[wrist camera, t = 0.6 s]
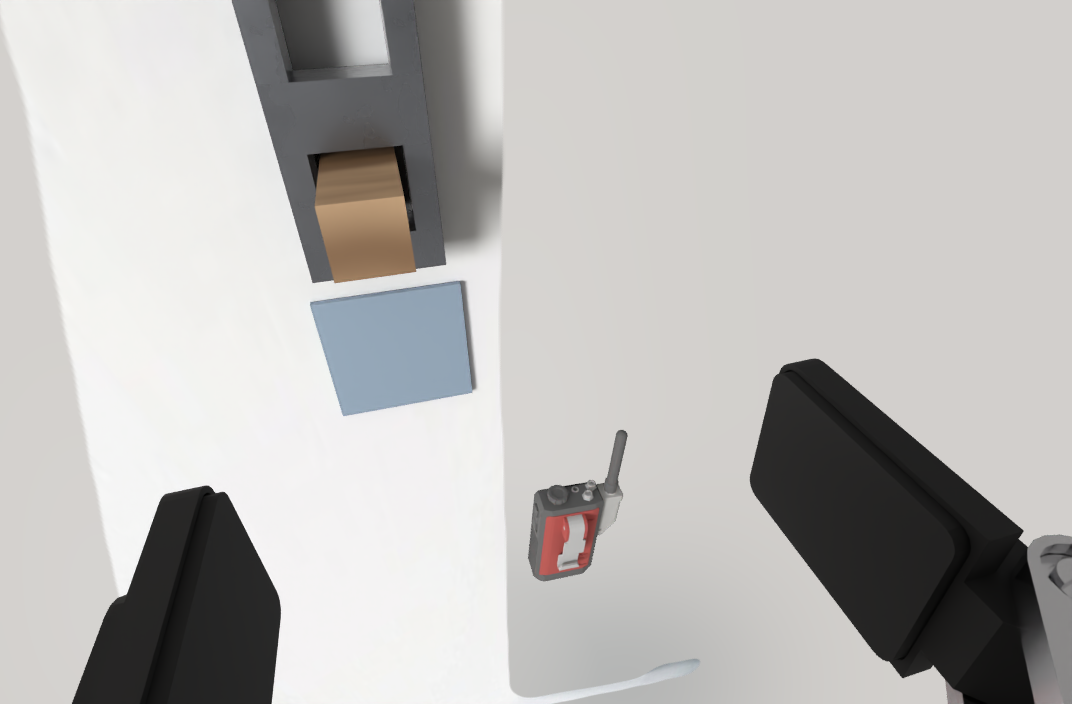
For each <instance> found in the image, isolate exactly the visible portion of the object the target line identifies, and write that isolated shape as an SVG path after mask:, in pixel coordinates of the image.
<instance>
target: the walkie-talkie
mask: <svg viewBox="0 0 1072 704" xmlns="http://www.w3.org/2000/svg"><path fill="white" fill-rule="evenodd" d="M626 440H627V433H626V431H624V430H619V431H618V432H617V433H616V438H615V443H614V448H613V453H612V457H611V463H610V467H609V472H608V476H607V478H606V480H605V483H602V484H597V485H596V483H595V481H593V480H589V481H588V482H585V483H579V484H573V485H567V486H560V485H554V486H551V487H550V488H549V489H543V490H538V491H537V492H536V493H535V494H534V504H533V513H532V524H531V534H530V536H531V537H530V544H529V546H530V547H529V554H528V555H529V556H528V559H529V562H530V565H531V569H532V572H533V576H534V577H536V578H537V579H539V580H541V581H549V580H554V579H558V578H563V577H568V576H573V575H578V574H582V573H584V572H585V570H586V569H587V568H588V567H589V566H590V565H591V562H592V556H593V553H594V551H593V550H594V547H595V543H596V542H595V541H596V537H597V535H600V534H602V533H603V532H604V531H605V530H606V529H607V528H609V527H610V526H611V525H612V524H613V523H614V522H615V520H616V517H617V512H618V508H619V504H620V501H621V500H622V497H623V493H622V491H621V489H620V487H619V485H618V475H619V471H620V466H621V462H622V458H623V453H624V449H625V445H626Z"/></svg>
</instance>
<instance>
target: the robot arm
mask: <svg viewBox="0 0 1072 704" xmlns="http://www.w3.org/2000/svg"><path fill="white" fill-rule="evenodd" d="M750 484H751V488H752V490H753V492H754V494H755V496H756V497H757V499H758V500H759V501H760V503H761V504H762V505H763V507H764V508H765V509H766V511H767V512H768V513H769V515H770V516H771V517H772V518H773V520H774V521H775V522H776V524H777V525H778V526H779V528H780V529H781V530H782V532H783V533H784V534H785V536H786V537H787V538H788V540H789V541H790V542H791V543H792V545H793V546H794V547H795V549H796V550H797V551H798V553H799V554H800V555H801V557H802V558H803V559H804V561H805V562H806V563H807V564H808V566H809V567H810V569H811V570H812V571H813V572H814V574H815V575H816V576H817V578H818V579H819V580H820V582H821V583H822V584H823V585H824V587H825V588H826V589H827V591H828V592H829V594H830V595H831V596H832V597H833V599H834V600H835V601H836V603H837V604H838V605H839V607H840V608H841V609H842V611H843V612H844V613H845V615H846V616H847V617H848V619H849V620H850V621H851V622H852V624H853V625H854V626H855V627H856V629H857V630H858V632H859V633H860V634H861V635H862V637H863V638H864V640H865V641H866V642H867V644H868V645H869V646H870V647H871V649H872V650H873V651H874V652H875V653H876V655H878V656H879V657H880V658H881V659H882V660H885V661H890V663H891V664H892V665H893V667H894V668H895V669H896V671H897V672H898V673H899V674H900V676H901V677H902V678H904V677H907V676H910V675H913V674H916V673H919V672H922V671H925V670H928V669H930V668H931V667H932V666H933V665H934V667H936V669H937V670H938V671H939V673H940V674H941V675H942V676H943V677H944V678H945V680H946V690H947V699H948V704H1072V537H1070V536H1064V535H1047V536H1042V537H1040V538H1037V539H1035V540H1033V542H1032V543H1031V544H1030V546H1029V547H1027V546H1026V545H1025V544H1023V543H1022V542H1021V541H1020V540H1019V539H1018V538H1019V537H1020V536H1021V534H1022V533H1023V530H1022V529H1021V528H1020V527H1018V526H1017V525H1016V524H1015V523H1014V522H1012V520H1010V519H1009V518H1008V517H1007V516H1006V515H1004V514H1003V513H1002V512H1001V511H1000V510H998V509H997V508H996V507H995V506H994V505H993V504H991V503H990V502H989V501H988V500H987V499H985V498H984V497H983V496H982V495H981V494H980V493H978V492H977V491H976V490H975V489H973V488H972V487H971V486H970V485H969V484H968V483H966V482H965V481H964V480H963V479H962V478H961V477H959V476H958V475H957V474H956V473H955V472H953V471H952V470H951V469H950V468H948V466H946V465H945V464H944V463H943V462H942V461H940V460H939V459H938V458H937V457H936V456H934V455H933V454H932V453H931V452H930V451H929V450H927V449H926V448H925V447H924V446H923V445H921V444H920V443H919V442H918V441H917V440H916V439H914V438H913V437H912V436H911V435H909V434H908V433H907V432H906V431H905V430H904V429H903V428H901V427H900V426H899V425H898V424H897V423H895V422H894V421H893V420H892V419H891V418H889V417H888V416H887V415H886V414H885V413H883V412H882V411H881V410H880V409H879V408H878V407H876V406H875V405H874V404H873V403H872V402H870V401H869V400H868V399H867V398H866V397H865V396H863V395H862V394H861V393H860V392H859V391H857V390H856V389H855V388H854V387H853V386H852V385H850V384H849V383H848V382H847V381H846V380H844V379H843V378H842V377H841V376H840V375H839V374H837V373H836V372H835V371H834V370H833V369H831V368H830V367H829V366H828V365H827V364H825V363H824V362H823V361H821V360H819V359H809V360H804V361H800V362H795V363H790V364H786V365H784V366H783V367H782V368H781V370H780V373H779V374H777V375H776V376H775V377H774V379H773V383H772V387H771V391H770V395H769V399H768V404H767V408H766V412H765V416H764V420H763V424H762V428H761V433H760V437H759V441H758V445H757V449H756V454H755V458H754V462H753V466H752V470H751V474H750ZM280 619H281V607H280V600H279V596H278V593H277V591H276V589H275V587H274V585H273V583H272V581H271V579H270V577H269V575H268V573H267V571H266V569H265V568H264V566H263V564H262V562H261V560H260V558H259V556H258V554H257V552H256V550H255V548H254V546H253V544H252V542H251V540H250V538H249V536H248V534H247V532H246V530H245V528H244V526H243V524H242V522H241V520H240V518H239V516H238V514H237V512H236V510H235V508H234V506H233V504H232V503H231V501H230V499H229V497H228V495H227V494H226V493H225V492H220V493H215V492H214V491H213V489H212V488H211V487H209V486H202V487H197V488H192V489H187V490H182V491H178V492H173V493H168V494H165V495H164V496H163V497H162V499H161V500H160V502H159V505H158V508H157V511H156V514H155V516H154V519H153V522H152V525H151V528H150V531H149V533H148V536H147V539H146V542H145V545H144V548H143V550H142V553H141V556H140V559H139V562H138V565H137V567H136V570H135V573H134V576H133V579H132V582H131V584H130V587H129V590H128V593H127V595H124V596H122V597H119V598H117V599H116V600H115V601H114V602H113V603H112V604H111V605H110V607H109V609H108V611H107V613H106V615H105V617H104V619H103V622H102V625H101V628H100V630H99V633H98V635H97V638H96V641H95V643H94V646H93V649H92V652H91V654H90V657H89V659H88V662H87V665H86V667H85V670H84V673H83V676H82V678H81V681H80V683H79V686H78V689H77V691H76V694H75V697H74V700H73V702H72V704H272V694H273V685H274V676H275V666H276V657H277V647H278V638H279V628H280Z"/></svg>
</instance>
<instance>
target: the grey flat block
mask: <svg viewBox="0 0 1072 704" xmlns="http://www.w3.org/2000/svg"><path fill="white" fill-rule="evenodd" d="M379 2H380V9H381V15H382V22H383V28H384V34H385V41H386V47H387V54H388V60H389V64H377V65H362V66H348V67H333V68H319V69H304V70H293V69H292V65H291V60H290V56H289V52H288V48H287V44H286V40H285V36H284V32H283V28H282V24H281V20H280V16H279V12H278V8H277V4H276V0H232V3H233V7H234V10H235V14H236V17H237V21H238V24H239V28H240V31H241V35H242V38H243V42H244V45H245V49H246V52H247V56H248V59H249V63H250V66H251V69H252V73H253V76H254V80H255V83H256V87H257V90H258V94H259V97H260V101H261V104H262V108H263V111H264V115H265V118H266V122H267V125H268V129H269V132H270V136H271V139H272V143H273V146H274V150H275V153H276V156H277V160H278V163H279V167H280V170H281V174H282V177H283V181H284V184H285V188H286V191H287V195H288V198H289V202H290V205H291V209H292V212H293V216H294V219H295V223H296V226H297V230H298V233H299V237H300V240H301V244H302V247H303V250H304V254H305V257H306V261H307V264H308V268H309V271H310V275H311V278H312V282H313V283H317V282H324V281H331V280H334V279H333V275H332V271H331V267H330V263H329V260H328V256H327V252H326V248H325V244H324V241H323V237H322V233H321V229H320V225H319V221H318V218H317V214H316V210H315V197H316V188H317V179H318V169H317V165H316V161H315V157H314V154H318V153H329V152H339V151H349V150H360V149H370V148H381V147H391V146H401V145H402V150H403V157H404V163H405V170H406V176H407V183H408V189H409V195H410V202H411V208H412V211H408V212H407V218H408V224H409V230H410V236H411V242H412V249H413V255H414V261H415V267H416V269H418V268H426V267H433V266H440V265H446V259H445V251H444V243H443V235H442V227H441V219H440V211H439V203H438V195H437V187H436V179H435V171H434V163H433V155H432V147H431V139H430V131H429V123H428V115H427V107H426V99H425V90H424V82H423V74H422V66H421V58H420V50H419V42H418V34H417V26H416V18H415V10H414V2H413V0H379Z"/></svg>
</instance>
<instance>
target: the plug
mask: <svg viewBox="0 0 1072 704" xmlns="http://www.w3.org/2000/svg"><path fill="white" fill-rule="evenodd" d="M315 210H316V214H317V218H318V221H319V225H320V229H321V233H322V237H323V241H324V244H325V248H326V252H327V256H328V260H329V263H330V267H331V271H332V275H333V279H334V283H339V282H347V281H354V280H361V279H368V278H375V277H383V276H390V275H397V274H404V273H411V272H416V267H415V261H414V255H413V249H412V242H411V236H410V230H409V224H408V218H407V211H406V205H405V199H404V194H403V189H402V184H401V179H400V175H399V170H398V165H397V160H396V156H395V151H394V146H391V147H381V148H370V149H360V150H349V151H339V152H329V153H320V160H319V169H318V179H317V188H316V197H315Z"/></svg>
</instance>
